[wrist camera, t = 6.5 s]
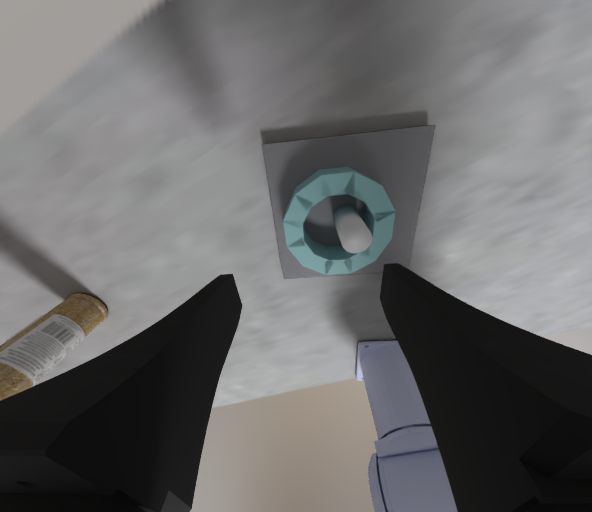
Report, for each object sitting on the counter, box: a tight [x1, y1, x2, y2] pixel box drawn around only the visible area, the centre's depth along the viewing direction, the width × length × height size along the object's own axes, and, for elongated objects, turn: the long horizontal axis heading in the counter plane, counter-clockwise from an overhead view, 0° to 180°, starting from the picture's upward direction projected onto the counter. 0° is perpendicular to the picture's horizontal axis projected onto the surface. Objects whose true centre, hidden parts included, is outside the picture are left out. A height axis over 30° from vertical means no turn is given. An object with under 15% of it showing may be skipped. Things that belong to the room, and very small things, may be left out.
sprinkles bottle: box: [0, 293, 108, 401], centre depth 20 cm, size 5×5×13 cm
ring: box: [283, 167, 396, 275], centre depth 17 cm, size 8×8×2 cm
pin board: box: [262, 125, 435, 279], centre depth 16 cm, size 12×12×6 cm
